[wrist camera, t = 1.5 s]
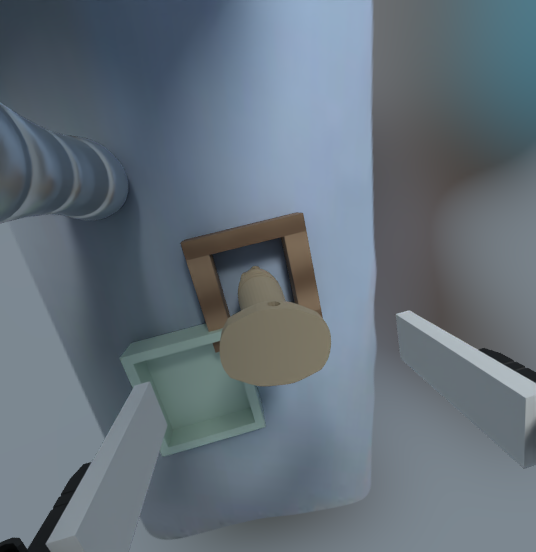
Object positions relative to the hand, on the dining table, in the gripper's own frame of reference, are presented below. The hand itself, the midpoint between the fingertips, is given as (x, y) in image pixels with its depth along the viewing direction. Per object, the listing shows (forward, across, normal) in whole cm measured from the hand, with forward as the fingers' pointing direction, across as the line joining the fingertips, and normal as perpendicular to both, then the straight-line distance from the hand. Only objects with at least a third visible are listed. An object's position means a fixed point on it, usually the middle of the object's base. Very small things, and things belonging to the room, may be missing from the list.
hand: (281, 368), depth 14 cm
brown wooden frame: (+16, 0, 0) cm, 17 cm away
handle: (+17, 0, 0) cm, 17 cm away
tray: (+17, -9, -10) cm, 21 cm away
